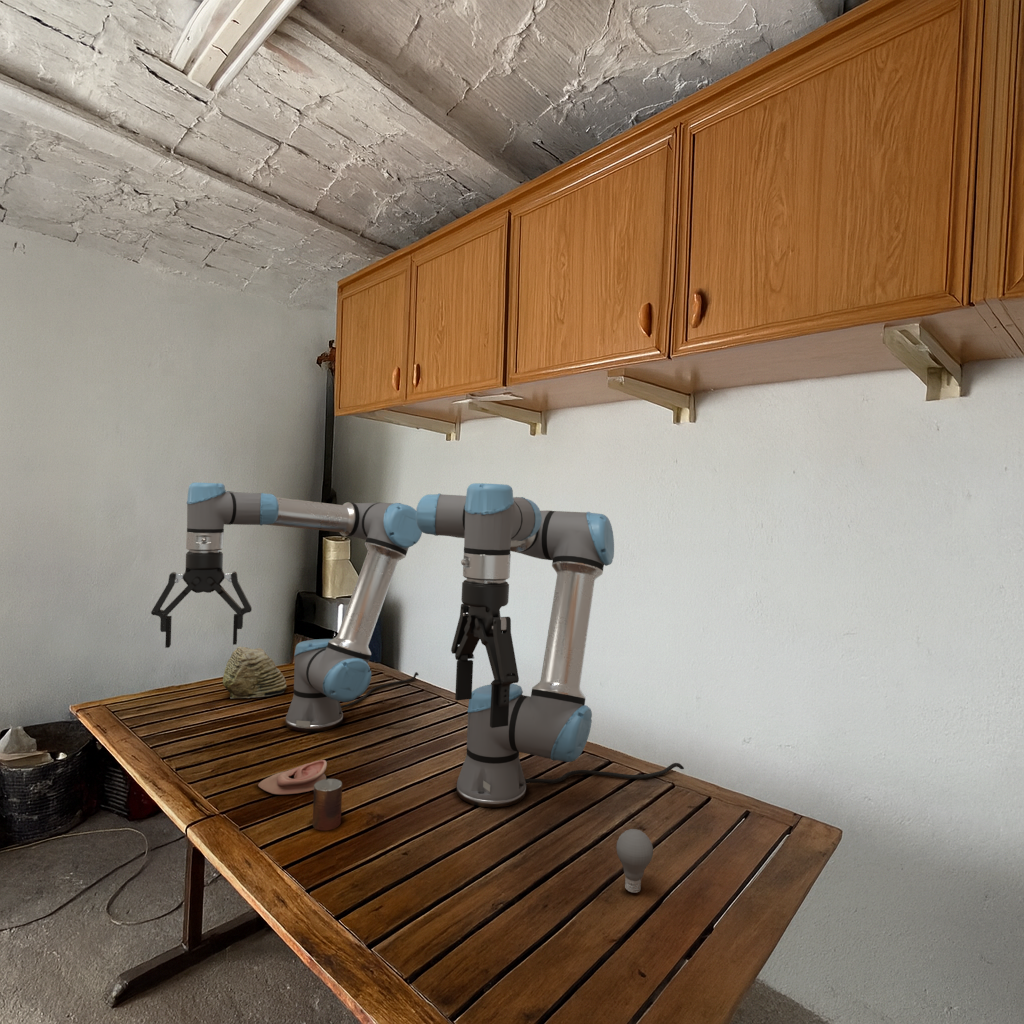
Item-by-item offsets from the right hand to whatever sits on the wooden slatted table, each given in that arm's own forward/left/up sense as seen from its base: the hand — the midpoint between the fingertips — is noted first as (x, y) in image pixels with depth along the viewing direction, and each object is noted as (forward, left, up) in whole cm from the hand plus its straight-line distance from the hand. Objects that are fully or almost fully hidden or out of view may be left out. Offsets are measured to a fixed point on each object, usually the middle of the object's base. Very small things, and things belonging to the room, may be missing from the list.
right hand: (480, 712), depth 102 cm
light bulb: (-25, +9, -30) cm, 40 cm away
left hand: (+38, -67, -2) cm, 77 cm away
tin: (+16, -32, -30) cm, 47 cm away
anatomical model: (+20, -52, -30) cm, 63 cm away
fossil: (+21, -119, -30) cm, 125 cm away
